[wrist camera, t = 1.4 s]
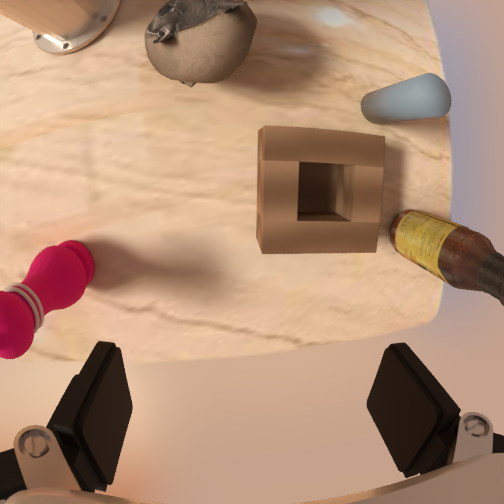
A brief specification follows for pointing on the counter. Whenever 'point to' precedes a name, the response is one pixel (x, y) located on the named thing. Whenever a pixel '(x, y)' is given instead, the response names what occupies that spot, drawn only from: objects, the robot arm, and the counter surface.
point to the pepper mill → (42, 294)
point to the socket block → (318, 190)
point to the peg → (408, 100)
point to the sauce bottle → (449, 252)
